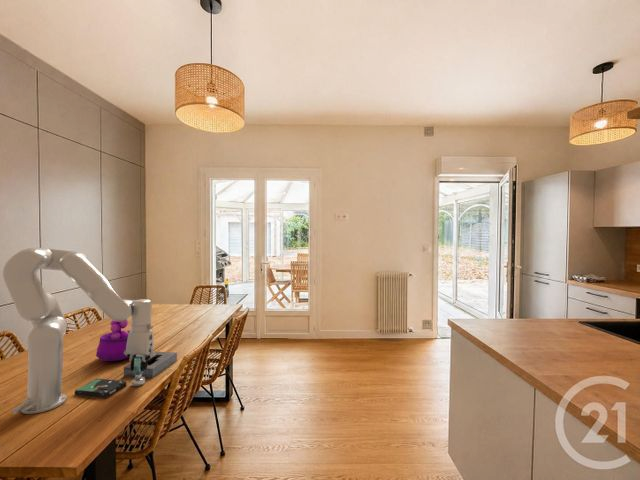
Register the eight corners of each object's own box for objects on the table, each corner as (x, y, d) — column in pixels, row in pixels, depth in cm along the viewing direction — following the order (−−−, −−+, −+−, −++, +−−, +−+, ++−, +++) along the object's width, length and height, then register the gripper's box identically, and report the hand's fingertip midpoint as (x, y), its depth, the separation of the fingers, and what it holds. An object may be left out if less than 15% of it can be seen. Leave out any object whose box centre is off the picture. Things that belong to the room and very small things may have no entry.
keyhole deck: (152, 378, 132) (152, 368, 133) (123, 376, 133) (123, 367, 133) (176, 360, 152) (177, 352, 152) (151, 359, 153) (151, 351, 153)
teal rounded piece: (139, 386, 124) (140, 359, 124) (128, 386, 124) (129, 358, 124) (147, 381, 129) (148, 354, 129) (136, 380, 129) (137, 354, 129)
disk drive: (126, 387, 125) (96, 384, 127) (127, 380, 125) (96, 377, 127) (106, 400, 115) (73, 396, 116) (106, 393, 115) (73, 389, 116)
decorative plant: (134, 349, 167) (136, 297, 167) (142, 358, 153) (144, 302, 154) (93, 357, 153) (95, 301, 154) (98, 369, 140) (100, 307, 141)
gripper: (164, 326, 130) (162, 367, 130) (128, 324, 131) (127, 365, 131) (153, 331, 123) (151, 374, 122) (116, 329, 124) (114, 372, 123)
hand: (138, 369), depth 126 cm, fingers closed on teal rounded piece, 4 cm apart
